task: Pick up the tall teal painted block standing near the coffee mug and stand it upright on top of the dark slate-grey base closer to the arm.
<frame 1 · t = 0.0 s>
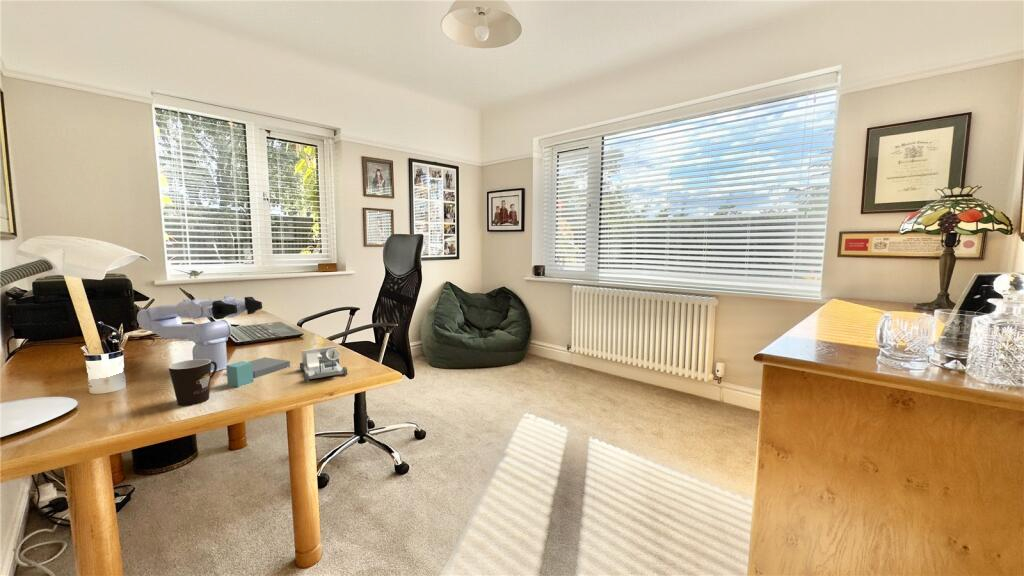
hand: (248, 307, 120), 22 cm above the table, tool horizontal, fingers open, 7 cm apart
teal block: (240, 383, 116), on the table
coffee mug: (200, 399, 104), on the table
toy car: (323, 375, 125), on the table
slate base: (260, 371, 129), on the table
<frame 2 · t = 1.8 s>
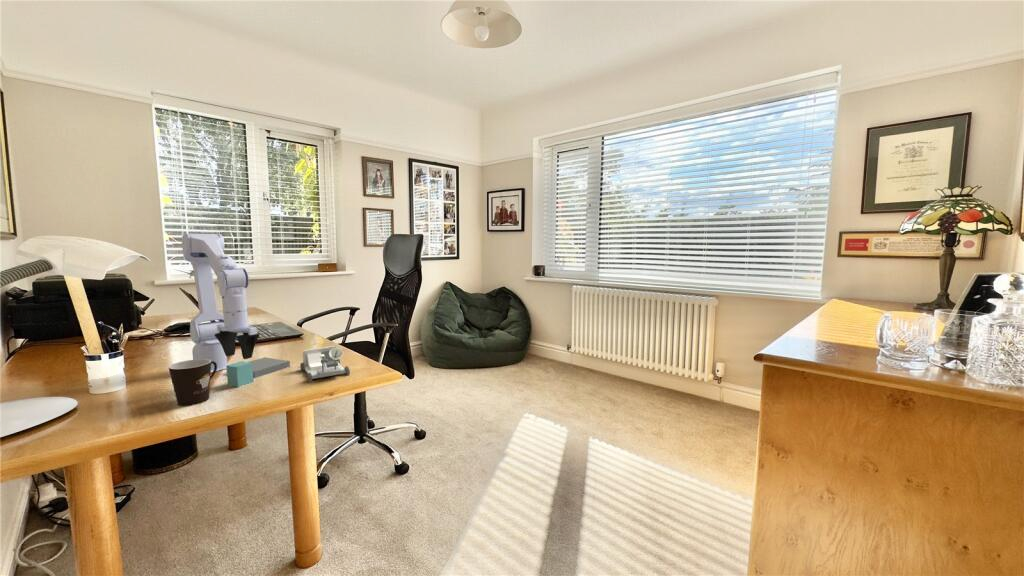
hand: (238, 356, 115), 8 cm above the table, tool pointing down, fingers open, 7 cm apart
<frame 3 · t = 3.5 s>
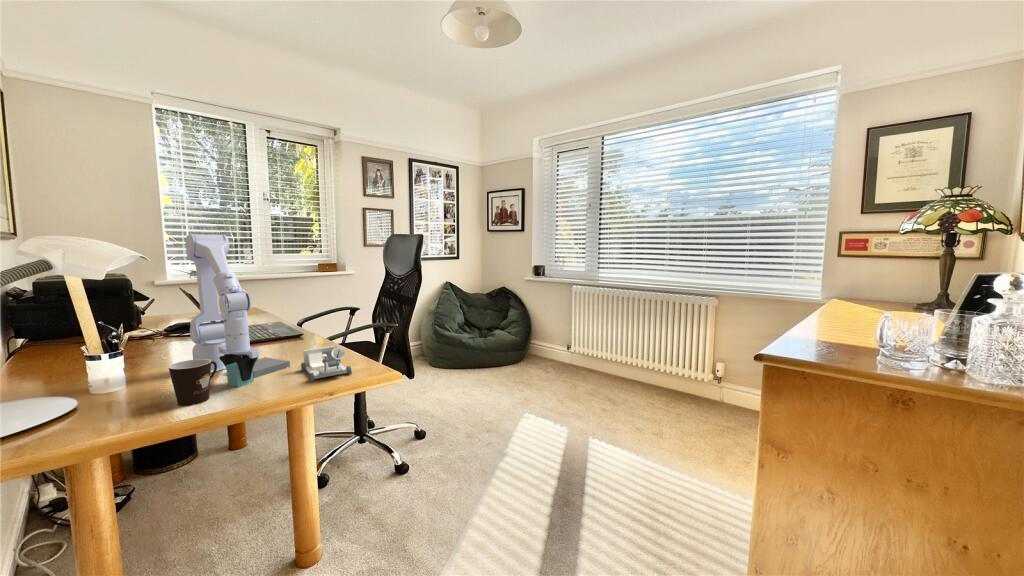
hand: (240, 379, 116), 1 cm above the table, tool pointing down, fingers closed on teal block, 4 cm apart
teal block: (240, 383, 116), on the table, touching gripper
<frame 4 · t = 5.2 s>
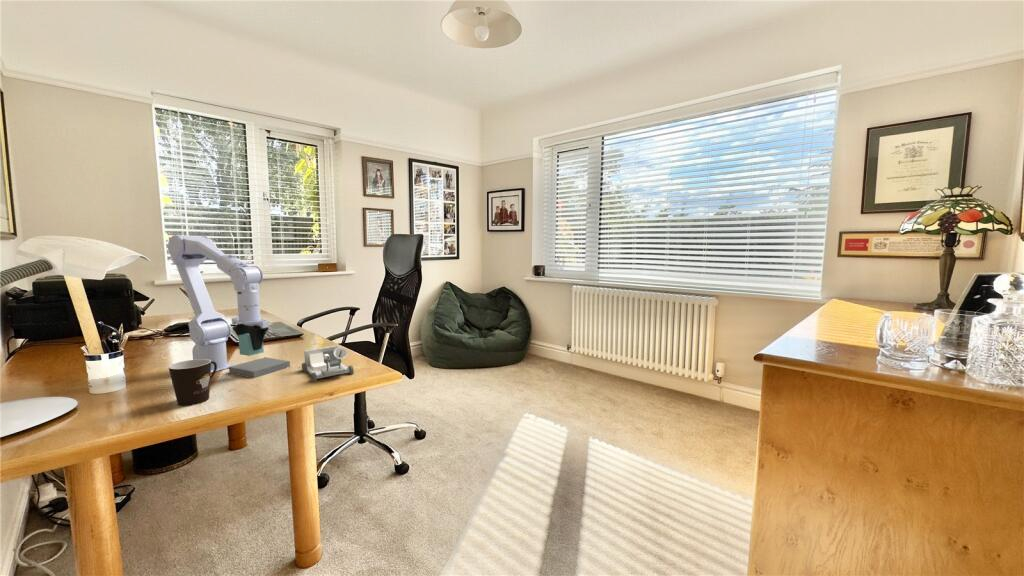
hand: (251, 348, 123), 8 cm above the table, tool pointing down, fingers closed on teal block, 4 cm apart
teal block: (251, 353, 123), point 7 cm above the table, touching gripper
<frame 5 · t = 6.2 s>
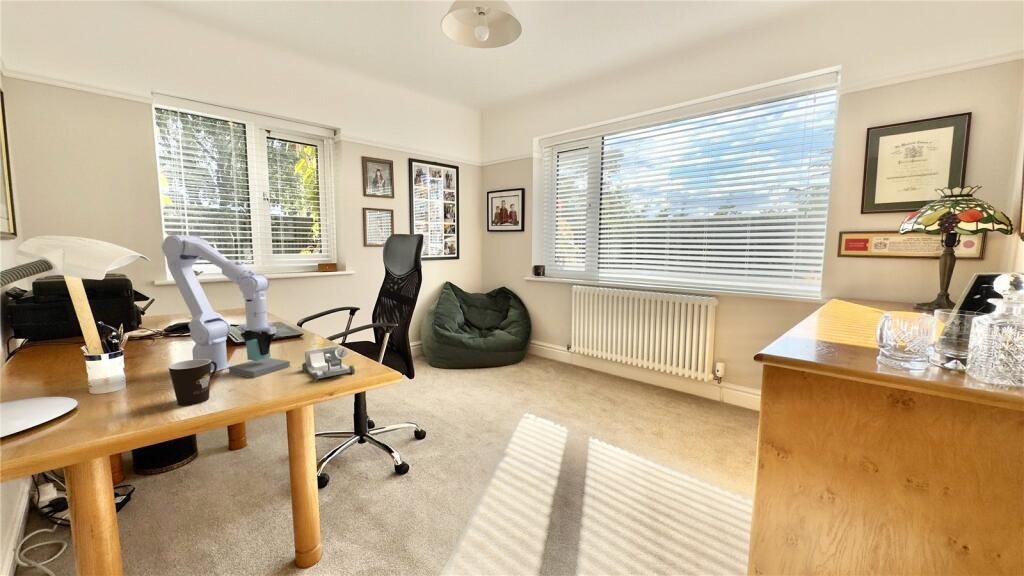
hand: (259, 353, 128), 5 cm above the table, tool pointing down, fingers closed on teal block, 4 cm apart
teal block: (259, 358, 128), point 4 cm above the table, touching gripper
when the fingers open (5 cm above the table, at t = 6.9 s): teal block drops 2 cm, resting on slate base.
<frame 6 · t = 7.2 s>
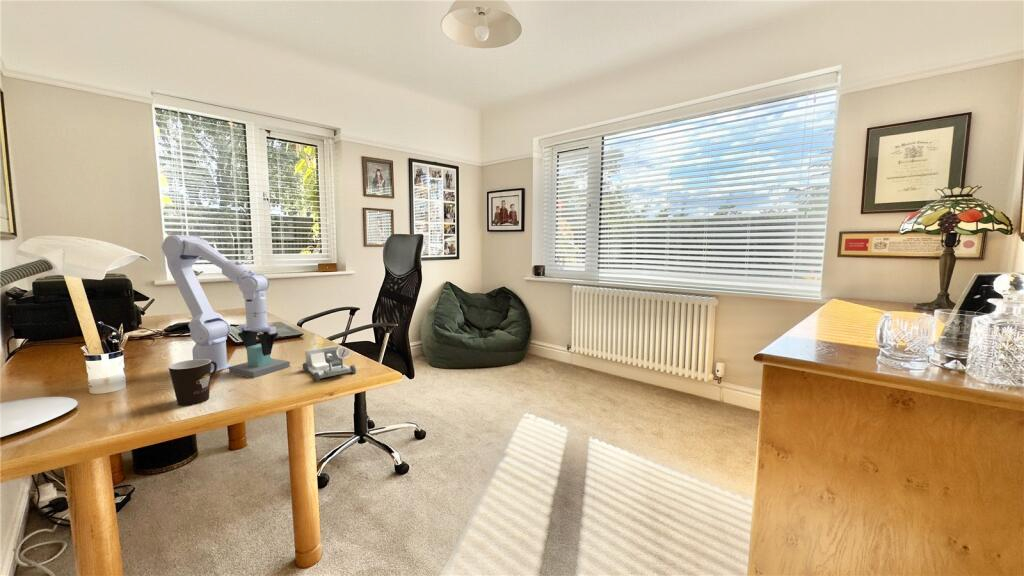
hand: (259, 353, 128), 5 cm above the table, tool pointing down, fingers open, 7 cm apart
teal block: (259, 364, 128), point 2 cm above the table, touching slate base
slate base: (260, 371, 129), on the table, touching teal block
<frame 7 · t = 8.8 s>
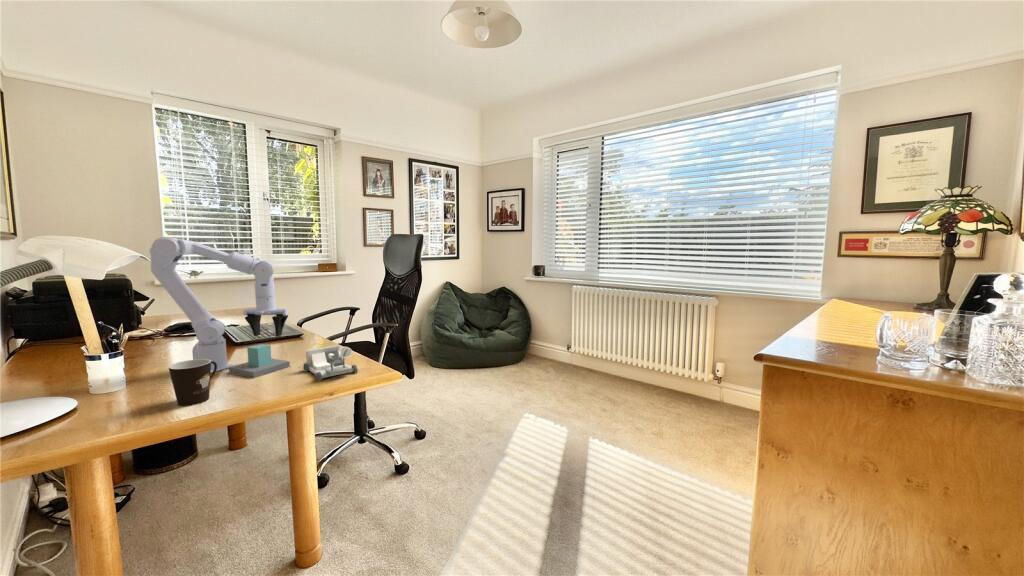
hand: (268, 335, 136), 9 cm above the table, tool pointing down, fingers open, 7 cm apart
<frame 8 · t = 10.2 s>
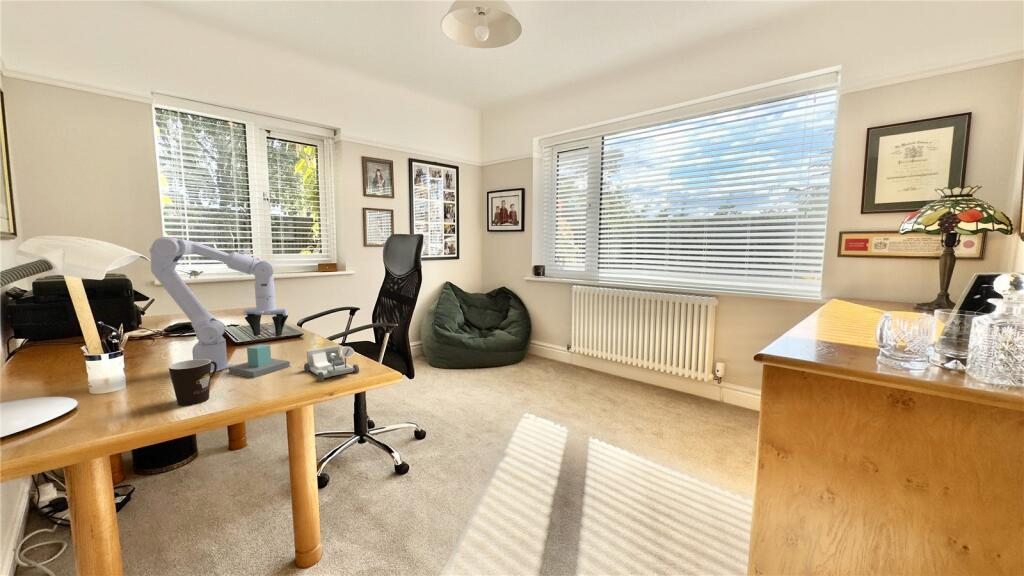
hand: (268, 335, 136), 9 cm above the table, tool pointing down, fingers open, 7 cm apart
teal block: (259, 364, 128), point 2 cm above the table
slate base: (260, 371, 129), on the table
at the end: teal block 0.4 cm off-centre on the slate base, point 2.5 cm above the slate base's base; teal block tilted 0°; the gripper is holding nothing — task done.
